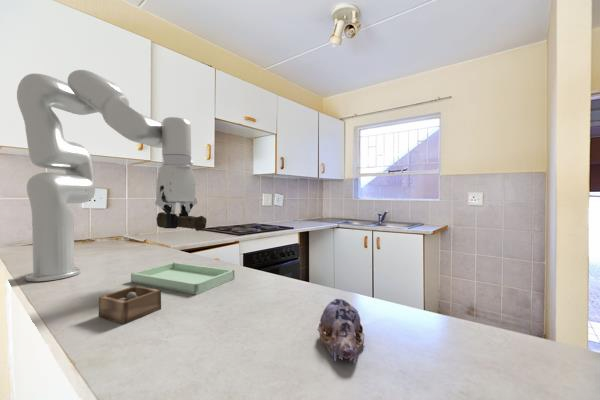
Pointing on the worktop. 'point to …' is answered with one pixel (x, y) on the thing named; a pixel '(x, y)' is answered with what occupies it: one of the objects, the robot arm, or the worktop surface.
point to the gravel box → (129, 304)
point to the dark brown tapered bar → (183, 221)
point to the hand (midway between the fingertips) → (178, 226)
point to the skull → (341, 329)
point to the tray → (183, 277)
